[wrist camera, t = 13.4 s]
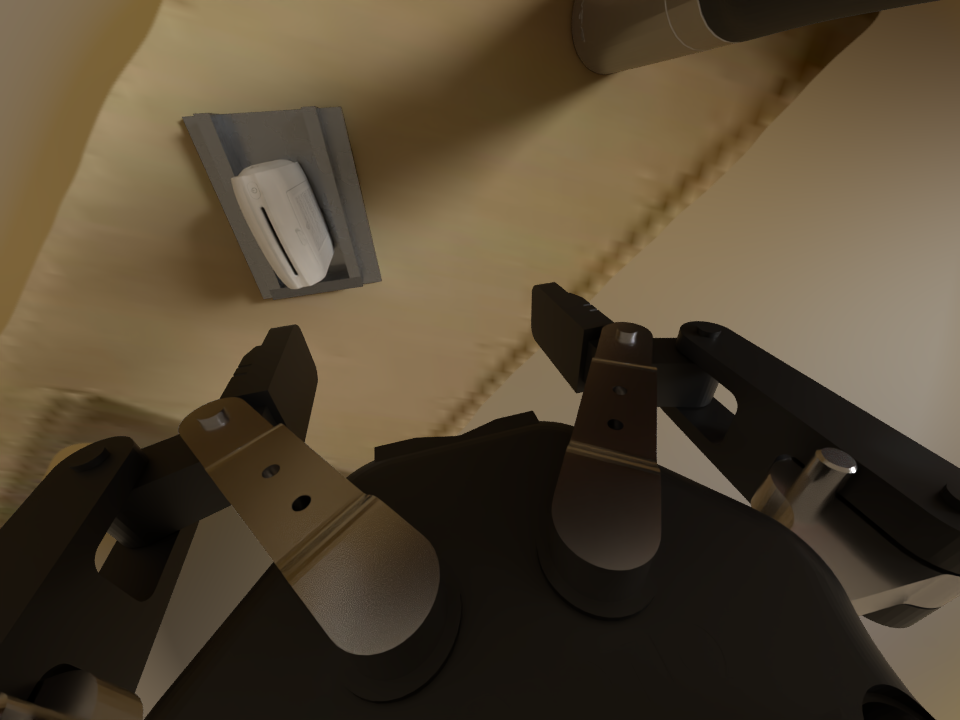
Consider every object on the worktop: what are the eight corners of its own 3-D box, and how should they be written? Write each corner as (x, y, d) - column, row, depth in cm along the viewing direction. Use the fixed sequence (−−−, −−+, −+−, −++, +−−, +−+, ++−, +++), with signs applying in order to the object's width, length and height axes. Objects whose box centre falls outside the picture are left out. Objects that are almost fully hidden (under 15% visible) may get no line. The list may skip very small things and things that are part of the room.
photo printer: (256, 162, 35) (209, 175, 25) (299, 153, 35) (270, 162, 25) (303, 261, 41) (281, 304, 31) (340, 252, 41) (329, 291, 31)
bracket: (341, 107, 35) (338, 104, 32) (381, 279, 45) (382, 289, 42) (185, 117, 32) (166, 115, 29) (265, 296, 42) (257, 309, 39)
